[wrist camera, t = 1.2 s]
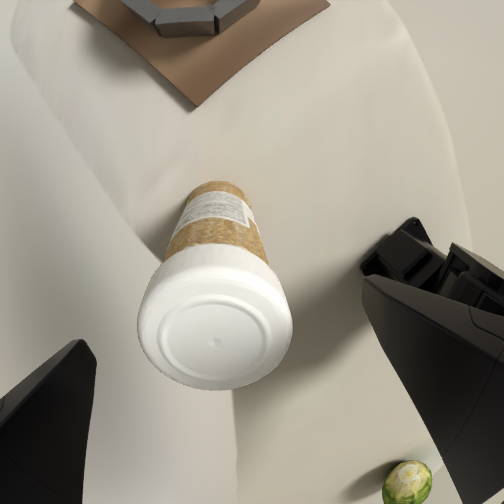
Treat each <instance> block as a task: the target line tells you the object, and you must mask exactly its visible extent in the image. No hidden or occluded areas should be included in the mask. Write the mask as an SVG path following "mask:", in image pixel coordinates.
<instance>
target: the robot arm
mask: <svg viewBox="0 0 504 504" xmlns="http://www.w3.org/2000/svg"><path fill="white" fill-rule="evenodd" d="M414 222H416V223H415V225H414V226H413V224H414ZM449 250H450V251H449V254H448V256H446V255H445V254H443V253H442V252H440V251H439V250H437V249H436V248H435V247H433V245H432V243H431V241H430V239H429V237H428V235H427V233H426V231H425V229H424V227H423V225H422V224H421V222H420V220H419V219H418V218H416V217H412V218H411V219H410V220H409V221H408V222H407V223H405V224H404V225H403V226H402V227H401V228H400V229H399V230H398V231H397V232H396V233H395V234H394V235H392V236H391V237H390V238H389V239H388V240H387V241H386V242H385V243H384V244H383V245H382V246H381V247H379V248H378V250H377V251H375V252H374V253H373V254H372V255H371V256H370V257H369V258H368V259H367V260H365V261H364V262H363V263H362V264H361V266H360V270H361V272H362V273H363V274H364V276H365V277H364V278H363V279H362V302H363V307H364V309H365V311H366V314H367V316H368V318H369V320H370V322H371V325H372V327H373V329H374V331H375V333H376V336H377V338H378V340H379V342H380V345H381V347H382V348H383V350H384V352H385V354H386V356H387V357H388V359H389V361H390V362H391V364H392V366H393V368H394V369H395V371H396V373H397V374H398V376H399V378H400V380H401V381H402V383H403V385H404V387H405V389H406V390H407V392H408V394H409V396H410V398H411V399H412V401H413V403H414V405H415V407H416V409H417V410H418V412H419V414H420V416H421V418H422V420H423V422H424V424H425V426H426V427H427V429H428V431H429V433H430V435H431V437H432V439H433V441H434V443H435V445H436V447H437V449H438V451H439V453H440V455H441V457H443V458H442V459H443V462H444V464H445V466H446V468H447V470H448V472H449V474H450V476H451V478H452V481H453V483H454V485H455V487H456V489H457V491H458V494H459V496H460V498H461V500H462V503H463V504H482V503H484V502H485V501H487V500H488V499H489V498H491V497H492V496H494V495H495V494H496V493H498V492H499V491H500V490H501V489H503V488H504V272H503V271H502V270H501V269H499V268H498V267H496V266H495V265H493V264H492V263H490V262H489V261H487V260H486V259H484V258H482V257H480V256H478V255H476V254H474V253H473V252H471V251H469V250H467V249H465V248H463V247H461V246H459V245H457V244H455V243H453V242H452V244H451V246H450V248H449ZM367 266H368V268H367V269H366V270H365V268H366V267H367ZM96 366H97V361H96V358H95V356H94V354H93V353H92V351H91V350H90V348H89V346H88V345H87V343H86V342H85V341H84V340H82V339H78V340H73V341H71V342H70V343H69V344H67V345H66V346H65V347H64V348H62V349H61V350H60V351H58V352H57V353H56V354H55V355H53V356H52V357H51V358H50V359H49V360H47V361H46V362H45V363H43V364H42V365H41V366H40V367H38V368H37V369H36V370H35V371H34V372H32V373H31V374H30V375H29V376H27V377H26V378H25V379H24V380H22V381H21V382H20V383H19V384H18V385H16V386H15V387H14V388H13V389H12V390H11V391H9V392H8V393H7V394H6V395H5V396H3V397H2V398H1V399H0V504H82V498H83V480H84V468H85V458H86V448H87V440H88V432H89V426H90V419H91V413H92V406H93V398H94V386H95V375H96ZM501 504H504V501H503V502H502V503H501Z"/></svg>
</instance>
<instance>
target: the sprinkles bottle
mask: <svg viewBox="0 0 504 504" xmlns="http://www.w3.org/2000/svg"><path fill="white" fill-rule="evenodd" d="M292 331H293V328H292V318H291V313H290V310H289V307H288V303H287V300H286V297H285V295H284V292H283V289H282V287H281V284H280V282H279V280H278V278H277V276H276V274H275V273H274V272H273V271H272V270H271V268H270V267H269V265H268V261H267V258H266V256H265V251H264V249H263V245H262V242H261V239H260V234H259V230H258V227H257V224H256V221H255V219H254V216H253V213H252V211H251V207H250V203H249V200H248V198H247V197H246V195H245V194H244V193H243V192H242V191H241V190H240V189H239V188H238V187H236V186H235V185H233V184H231V183H229V182H222V181H212V182H208V183H205V184H202V185H201V186H200V187H198V188H197V189H196V190H194V191H193V193H192V194H191V195H190V197H189V198H188V200H187V203H186V207H185V210H184V211H183V214H182V216H181V218H180V220H179V222H178V224H177V226H176V228H175V231H174V233H173V235H172V238H171V240H170V242H169V245H168V247H167V250H166V255H165V258H164V261H163V263H162V264H161V265H160V267H159V268H158V269H157V270H156V271H155V273H154V274H153V276H152V278H151V280H150V282H149V284H148V287H147V289H146V291H145V294H144V297H143V300H142V303H141V306H140V309H139V313H138V319H137V332H138V338H139V342H140V345H141V347H142V349H143V351H144V353H145V355H146V356H147V358H148V359H149V360H150V361H151V363H152V364H153V365H154V366H155V367H156V368H157V369H158V370H159V371H160V372H162V373H163V374H164V375H166V376H167V377H169V378H171V379H173V380H174V381H177V382H179V383H181V384H183V385H186V386H190V387H193V388H197V389H203V390H230V389H235V388H240V387H243V386H246V385H249V384H251V383H254V382H256V381H258V380H259V379H261V378H263V377H264V376H266V375H267V374H269V373H270V372H271V371H272V370H273V369H275V368H276V366H277V365H278V364H279V363H280V362H281V361H282V359H283V358H284V356H285V355H286V353H287V351H288V348H289V345H290V343H291V339H292Z"/></svg>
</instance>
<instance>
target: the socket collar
mask: <svg viewBox="0 0 504 504" xmlns="http://www.w3.org/2000/svg"><path fill="white" fill-rule="evenodd" d="M119 1H120V2H121V3H122V4H123V5H124V6H125V8H126V9H127V10H128V11H129V12H130V13H131V14H132V15H133V16H134V17H136V18H137V19H138V20H140V21H141V22H142V23H143V24H145V25H146V26H147V27H148V28H150V29H151V30H152V31H153V32H154V33H156V34H157V35H158V36H159V37H161V36H162V35H163V37H164V38H179V37H203V36H215V31H216V32H217V33H218V34H221V33H223V32H224V31H225V30H226V29H228V28H229V27H230V26H232V25H233V24H235V23H236V22H237V21H239V20H240V19H241V18H243V17H244V16H246V15H247V14H249V13H250V12H251V11H253V10H254V9H256V8H257V6H258V4H259V3H260V0H219V1H217V2H216V3H215V4H213V5H212V6H210V7H183V8H170V9H160V8H159V7H157V6H156V5H155V4H153V3H152V2H151V1H149V0H119Z"/></svg>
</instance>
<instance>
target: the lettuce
mask: <svg viewBox="0 0 504 504" xmlns="http://www.w3.org/2000/svg"><path fill="white" fill-rule="evenodd" d="M431 487H432V475H431V471H430V469H429V468H428V467H427V466H426V464H424V463H422V462H419V461H406V462H403V463H401V464H399V465H398V466H396V467H395V468H393V469H392V471H391V472H390V473H389V474H388V476H387V478H386V480H385V482H384V485H383V487H382V496H383V497H382V498H383V501H384V504H422V502H424V500H425V499H426V498H427V497H428V495H429V493H430V490H431Z"/></svg>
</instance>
